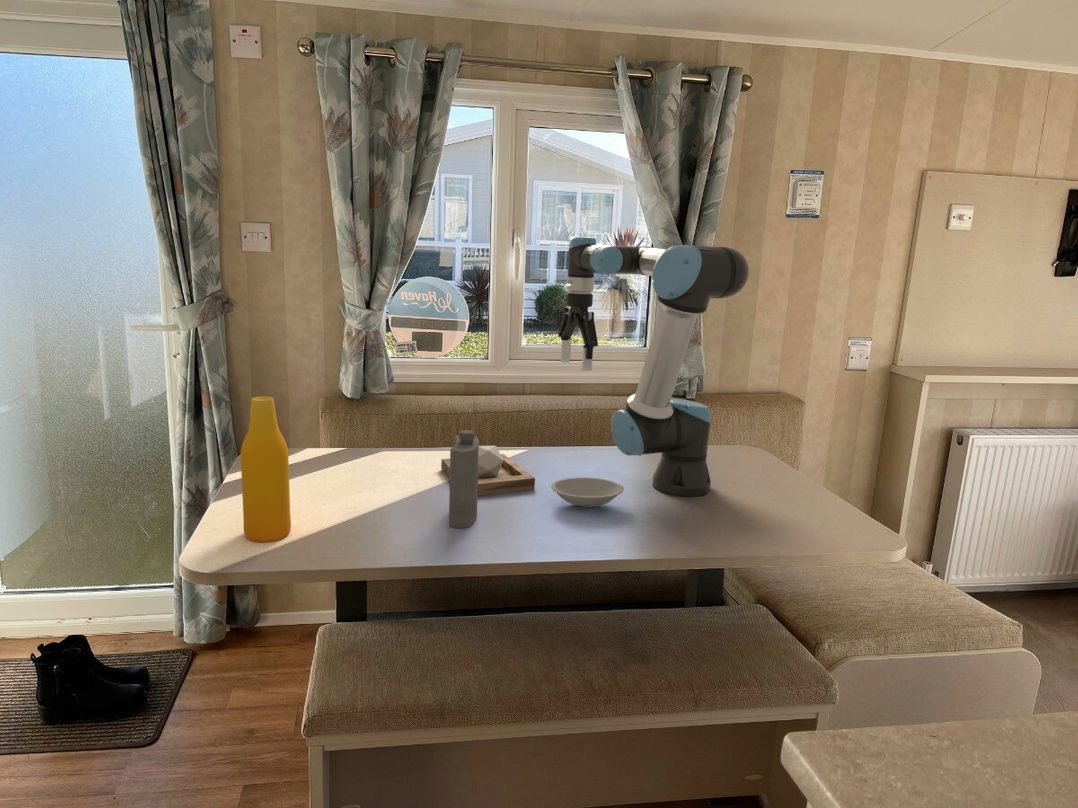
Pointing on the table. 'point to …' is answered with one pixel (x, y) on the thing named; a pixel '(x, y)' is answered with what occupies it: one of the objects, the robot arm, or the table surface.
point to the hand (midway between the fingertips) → (575, 366)
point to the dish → (587, 491)
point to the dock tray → (501, 478)
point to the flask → (463, 480)
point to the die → (489, 461)
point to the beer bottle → (265, 475)
